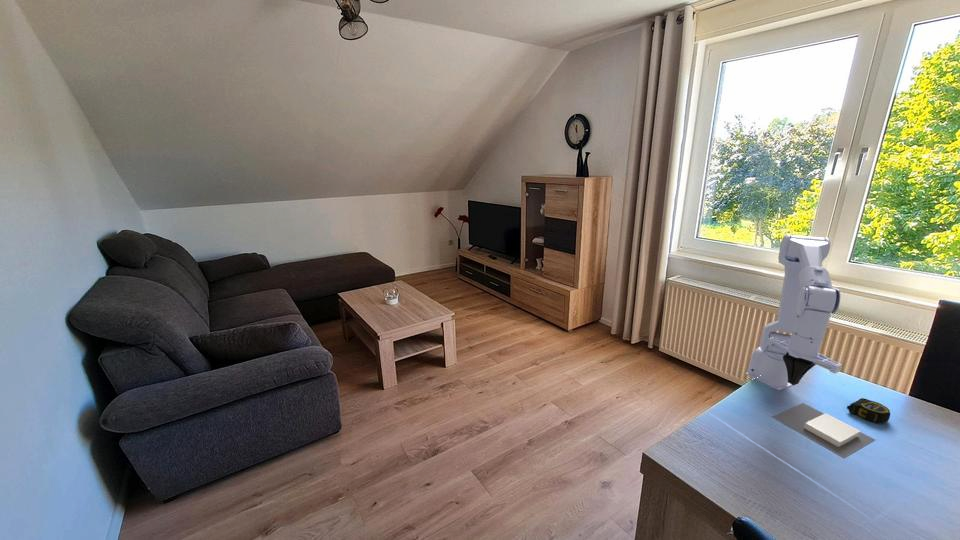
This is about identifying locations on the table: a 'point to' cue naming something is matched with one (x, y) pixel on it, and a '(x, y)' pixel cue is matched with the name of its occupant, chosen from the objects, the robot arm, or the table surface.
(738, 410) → the table surface
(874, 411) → the tape measure
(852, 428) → the cream rectangular panel
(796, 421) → the mat
